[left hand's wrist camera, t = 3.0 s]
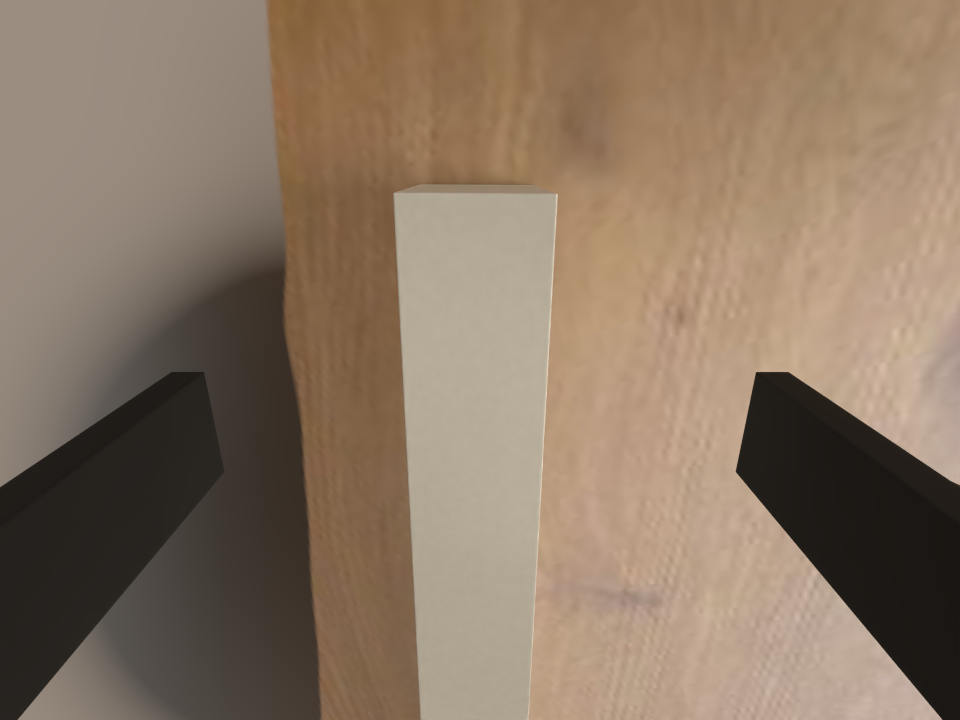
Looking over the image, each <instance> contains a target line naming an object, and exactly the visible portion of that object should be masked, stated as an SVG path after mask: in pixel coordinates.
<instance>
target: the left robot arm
mask: <svg viewBox="0 0 960 720" xmlns="http://www.w3.org/2000/svg"><path fill="white" fill-rule="evenodd" d="M223 473H224V468H223V463H222V459H221V454H220V449H219V444H218V439H217V434H216V429H215V424H214V419H213V414H212V410H211V405H210V400H209V395H208V390H207V385H206V380H205V375H204V372H171V373H170V374H168V375H167V376H165V377H164V378H162V379H161V380H159V381H158V382H156V383H155V384H153V385H152V386H150V387H149V388H147V389H146V390H144V391H143V392H141V393H140V394H138V395H137V396H135V397H134V398H132V399H131V400H129V401H128V402H126V403H125V404H124V405H122V406H121V407H119V408H118V409H116V410H115V411H113V412H112V413H110V414H109V415H107V416H106V417H104V418H103V419H101V420H100V421H98V422H97V423H95V424H94V425H92V426H91V427H89V428H88V429H86V430H85V431H83V432H82V433H80V434H79V435H77V436H76V437H74V438H73V439H71V440H70V441H68V442H67V443H66V444H64V445H62V446H61V447H60V448H58V449H57V450H55V451H54V452H52V453H51V454H49V455H48V456H46V457H45V458H43V459H42V460H40V461H39V462H37V463H36V464H34V465H33V466H31V467H30V468H28V469H27V470H25V471H24V472H22V473H21V474H19V475H18V476H16V477H15V478H13V479H12V480H10V481H9V482H7V483H6V484H4V485H3V486H1V487H0V720H18V718H19V717H20V716H21V715H22V714H23V712H24V711H25V710H26V709H27V708H28V706H29V705H30V704H31V703H32V702H33V700H34V699H35V698H36V697H37V696H38V694H39V693H40V692H41V691H42V690H43V689H44V687H45V686H46V685H47V684H48V682H49V681H50V680H51V679H52V678H53V677H54V675H55V674H56V673H57V672H58V671H59V669H60V668H61V667H62V666H63V665H64V663H65V662H66V661H67V660H68V658H69V657H70V656H71V655H72V654H73V652H74V651H75V650H76V649H77V648H78V646H79V645H80V644H81V643H82V642H83V641H84V639H85V638H86V637H87V636H88V634H89V633H90V632H91V631H92V630H93V628H94V627H95V626H96V625H97V624H98V623H99V621H100V620H101V619H102V618H103V616H104V615H105V614H106V613H107V612H108V611H109V609H110V608H111V607H112V606H113V605H114V603H115V602H116V601H117V600H118V599H119V597H120V596H121V595H122V594H123V593H124V591H125V590H126V589H127V588H128V587H129V585H130V584H131V583H132V582H133V581H134V579H135V578H136V577H137V576H138V575H139V573H140V572H141V571H142V570H143V569H144V567H145V566H146V565H147V564H148V563H149V561H150V560H151V559H152V558H153V557H154V555H155V554H156V553H157V552H158V551H159V549H160V548H161V547H162V546H163V545H164V543H165V542H166V541H167V540H168V539H169V537H170V536H171V535H172V534H173V533H174V531H175V530H176V529H177V528H178V527H179V525H180V524H181V523H182V522H183V521H184V519H185V518H186V517H187V516H188V515H189V513H190V512H191V511H192V510H193V509H194V507H195V506H196V505H197V504H198V503H199V501H200V500H201V499H202V498H203V497H204V495H205V494H206V493H207V492H208V491H209V489H210V488H211V487H212V486H213V485H214V483H215V482H216V481H217V480H218V479H219V477H220V476H221V475H222V474H223ZM736 473H737V474H738V475H739V476H740V477H741V479H742V480H743V481H744V482H745V483H746V485H747V486H748V487H749V488H750V489H751V491H752V492H753V493H754V494H755V495H756V497H757V498H758V499H759V500H760V501H761V503H762V504H763V505H764V506H765V507H766V509H767V510H768V511H769V512H770V513H771V515H772V516H773V517H774V518H775V519H776V521H777V522H778V523H779V524H780V525H781V527H782V528H783V529H784V530H785V531H786V533H787V534H788V535H789V536H790V537H791V539H792V540H793V541H794V542H795V543H796V545H797V546H798V547H799V548H800V549H801V551H802V552H803V553H804V554H805V555H806V557H807V558H808V559H809V560H810V561H811V563H812V564H813V565H814V566H815V567H816V569H817V570H818V571H819V572H820V573H821V575H822V576H823V577H824V578H825V579H826V581H827V582H828V583H829V584H830V585H831V587H832V588H833V589H834V590H835V591H836V593H837V594H838V595H839V596H840V597H841V599H842V600H843V601H844V602H845V603H846V605H847V606H848V607H849V608H850V609H851V611H852V612H853V613H854V614H855V615H856V617H857V618H858V619H859V620H860V621H861V623H862V624H863V625H864V626H865V627H866V629H867V630H868V631H869V632H870V633H871V635H872V636H873V637H874V638H875V639H876V641H877V642H878V643H879V644H880V645H881V647H882V648H883V649H884V650H885V651H886V653H887V654H888V655H889V656H890V657H891V659H892V660H893V661H894V662H895V663H896V665H897V666H898V667H899V668H900V669H901V671H902V672H903V673H904V674H905V675H906V677H907V678H908V679H909V680H910V681H911V683H912V684H913V685H914V686H915V687H916V689H917V690H918V691H919V692H920V693H921V695H922V696H923V697H924V698H925V699H926V701H927V702H928V703H929V704H930V705H931V706H932V708H933V709H934V710H935V711H936V712H937V714H938V715H939V716H940V717H941V718H942V720H960V485H958V484H956V483H954V482H951V481H950V480H948V479H947V478H945V477H944V476H942V475H941V474H939V473H938V472H936V471H935V470H933V469H932V468H930V467H929V466H927V465H926V464H924V463H923V462H921V461H920V460H918V459H917V458H915V457H914V456H912V455H911V454H909V453H908V452H906V451H905V450H903V449H902V448H901V447H899V446H898V445H896V444H895V443H893V442H892V441H890V440H889V439H887V438H886V437H884V436H883V435H881V434H880V433H878V432H877V431H875V430H874V429H872V428H871V427H869V426H868V425H866V424H865V423H863V422H862V421H860V420H859V419H857V418H856V417H854V416H853V415H851V414H850V413H848V412H847V411H845V410H844V409H842V408H841V407H839V406H838V405H836V404H835V403H834V402H832V401H831V400H829V399H828V398H826V397H825V396H823V395H822V394H820V393H819V392H817V391H816V390H814V389H813V388H811V387H810V386H808V385H807V384H805V383H804V382H802V381H801V380H799V379H798V378H796V377H795V376H793V375H792V374H790V373H789V372H756V375H755V380H754V385H753V390H752V395H751V400H750V405H749V410H748V414H747V419H746V424H745V429H744V434H743V439H742V444H741V449H740V454H739V459H738V463H737V468H736Z"/></svg>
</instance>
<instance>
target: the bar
mask: <svg viewBox="0 0 960 720" xmlns="http://www.w3.org/2000/svg"><path fill="white" fill-rule="evenodd" d="M557 196H558V195H557V194H556V193H554V192H551V191H548V190H546V189H543V188H541V187H538V186H535V185H470V184H420V185H416V186H413V187H410V188H407V189H404V190H401V191H398V192H395V193H394V194H393V200H394V219H395V239H396V258H397V278H398V297H399V316H400V336H401V355H402V374H403V394H404V413H405V432H406V452H407V471H408V490H409V510H410V529H411V548H412V568H413V587H414V606H415V626H416V645H417V664H418V684H419V703H420V720H528V716H529V698H530V680H531V662H532V644H533V626H534V608H535V590H536V573H537V555H538V537H539V519H540V501H541V483H542V465H543V447H544V429H545V411H546V393H547V376H548V358H549V340H550V322H551V304H552V286H553V268H554V250H555V232H556V214H557Z"/></svg>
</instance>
